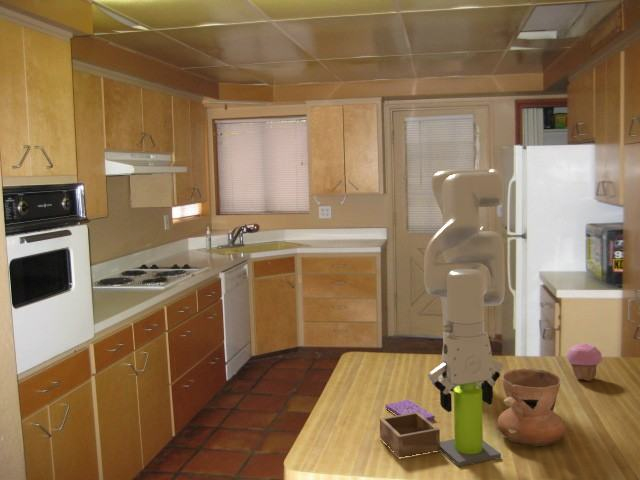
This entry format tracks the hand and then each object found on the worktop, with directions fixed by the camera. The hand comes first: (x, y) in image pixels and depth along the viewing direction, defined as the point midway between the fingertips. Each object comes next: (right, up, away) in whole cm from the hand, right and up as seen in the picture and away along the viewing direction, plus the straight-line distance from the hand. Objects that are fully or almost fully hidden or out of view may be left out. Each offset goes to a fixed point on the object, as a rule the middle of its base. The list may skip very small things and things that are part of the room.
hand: (466, 406), depth 141 cm
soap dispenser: (+1, -9, +2) cm, 10 cm away
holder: (-11, -10, +6) cm, 17 cm away
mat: (0, -10, +1) cm, 10 cm away
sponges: (-9, -9, +23) cm, 26 cm away
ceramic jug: (+16, -9, +7) cm, 20 cm away
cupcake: (+42, -3, +42) cm, 59 cm away
